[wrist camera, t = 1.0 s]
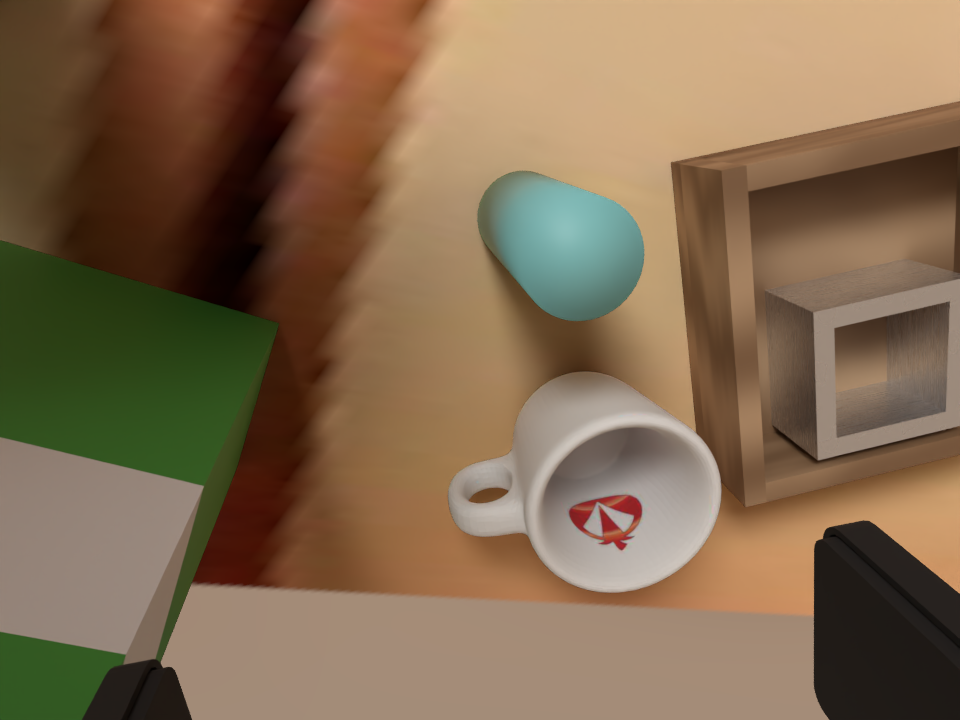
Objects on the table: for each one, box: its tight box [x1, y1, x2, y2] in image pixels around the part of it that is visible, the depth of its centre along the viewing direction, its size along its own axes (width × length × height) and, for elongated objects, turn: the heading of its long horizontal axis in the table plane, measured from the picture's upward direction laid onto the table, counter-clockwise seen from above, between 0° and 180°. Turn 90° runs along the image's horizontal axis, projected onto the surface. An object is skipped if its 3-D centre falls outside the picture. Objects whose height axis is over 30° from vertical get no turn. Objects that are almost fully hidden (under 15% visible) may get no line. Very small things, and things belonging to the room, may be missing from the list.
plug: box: [477, 171, 644, 321], centre depth 27 cm, size 4×4×10 cm
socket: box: [765, 259, 960, 460], centre depth 33 cm, size 7×7×4 cm
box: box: [671, 101, 960, 507], centre depth 33 cm, size 15×14×5 cm
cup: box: [448, 371, 722, 593], centre depth 32 cm, size 11×8×8 cm
